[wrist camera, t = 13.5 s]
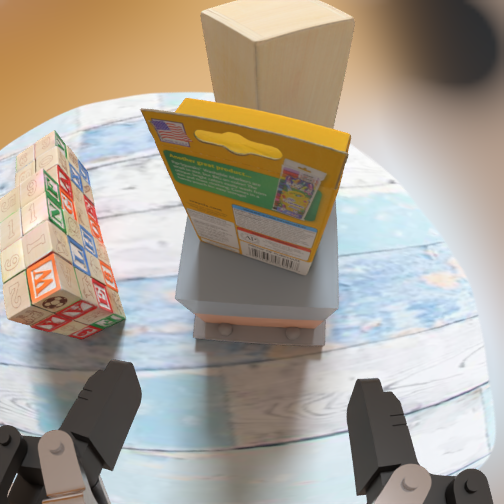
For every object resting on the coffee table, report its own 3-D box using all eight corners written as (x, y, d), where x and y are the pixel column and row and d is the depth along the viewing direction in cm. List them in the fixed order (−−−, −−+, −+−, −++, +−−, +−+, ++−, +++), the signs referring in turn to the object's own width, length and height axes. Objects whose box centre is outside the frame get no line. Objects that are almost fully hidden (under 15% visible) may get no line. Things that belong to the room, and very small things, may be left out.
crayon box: (320, 235, 20) (365, 98, 9) (306, 277, 19) (352, 160, 8) (216, 202, 21) (176, 61, 10) (198, 241, 20) (135, 111, 10)
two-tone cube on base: (195, 338, 29) (156, 320, 19) (209, 224, 33) (185, 159, 23) (322, 346, 28) (354, 332, 18) (323, 229, 32) (346, 165, 22)
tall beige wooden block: (281, 146, 37) (286, -16, 17) (320, 187, 34) (358, 18, 15) (225, 177, 35) (191, 9, 16) (262, 224, 33) (254, 46, 13)
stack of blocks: (52, 192, 37) (2, 140, 25) (88, 171, 37) (44, 111, 26) (82, 341, 29) (4, 320, 18) (128, 319, 30) (59, 289, 19)
